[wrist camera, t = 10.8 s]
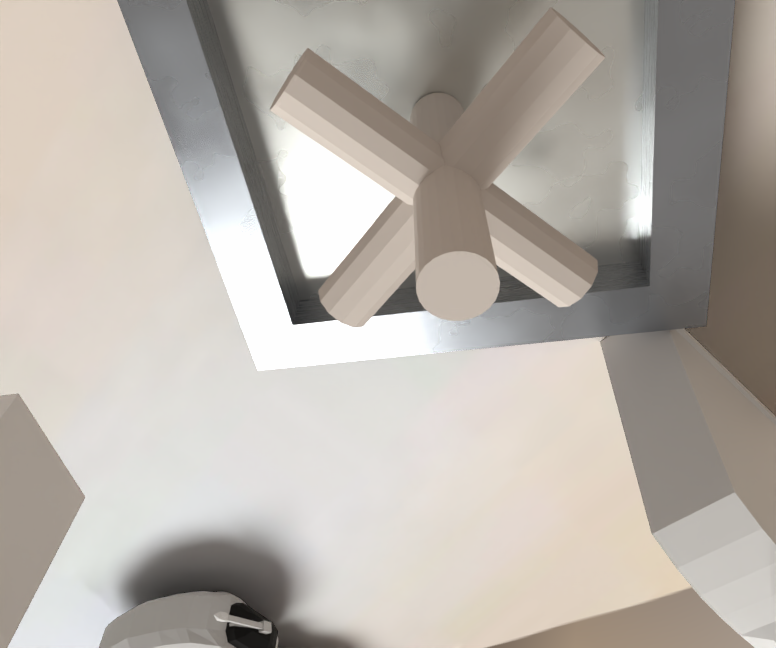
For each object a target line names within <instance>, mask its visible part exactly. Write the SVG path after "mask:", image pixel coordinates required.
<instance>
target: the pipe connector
mask: <svg viewBox="0 0 776 648" xmlns="http://www.w3.org/2000/svg"><path fill="white" fill-rule="evenodd" d="M604 59H605V56H604V54H603V53H602V52H601V51H600V50H599V49H598V48H597V47H596V46H595V45H594V44H593V43H592V42H591V41H590V40H589V39H588V38H587V37H586V36H585V35H584V34H582V33H581V32H580V31H579V30H578V29H577V28H576V27H575V26H574V25H573V24H571V23H570V22H569V21H568V20H567V19H566V18H565V17H563V16H562V15H561V14H560V13H559V12H557V11H556V10H555V9H553V8H552V7H550V8H549V9H548V11H547V12H546V13H545V14H544V15H543V17H542V18H541V19H540V20H539V22H538V23H537V24H536V25H535V26H534V28H533V29H532V30H531V31H530V33H529V34H528V35H527V36H526V37H525V39H524V40H523V41H522V42H521V43H520V45H519V46H518V47H517V48H516V50H515V51H514V52H513V53H512V54H511V56H510V57H509V58H508V59H507V61H506V62H505V63H504V64H503V65H502V67H501V68H500V69H499V70H498V72H497V73H496V74H495V75H494V76H493V78H492V79H491V80H490V81H489V83H488V84H487V85H486V86H485V87H484V89H483V90H482V91H481V92H480V93H479V95H478V96H477V97H476V98H475V100H474V101H473V102H472V103H471V104H470V106H469V107H468V108H467V109H466V111H465V112H464V109H463V107H462V106H461V104H460V102H459V101H458V100H457V99H456V98H454V97H453V96H451V95H449V94H445V93H432V94H428V95H426V96H424V97H423V98H421V99H420V100H419V101H418V102H417V103H416V104H415V106H414V108H413V109H412V112H411V116H410V122H409V121H407V120H406V119H405V118H403V117H402V116H400V115H399V114H398V113H396V112H395V111H394V110H392V109H391V108H390V107H388V106H387V105H385V104H384V103H383V102H381V101H380V100H379V99H377V98H376V97H375V96H373V95H372V94H370V93H369V92H368V91H366V90H365V89H364V88H362V87H361V86H360V85H358V84H357V83H355V82H354V81H353V80H351V79H350V78H349V77H347V76H346V75H345V74H343V73H342V72H340V71H339V70H338V69H336V68H335V67H334V66H332V65H331V64H330V63H328V62H327V61H325V60H324V59H323V58H321V57H320V56H319V55H317V54H316V53H314V52H313V51H312V50H310V49H309V48H307V49H306V50H305V52H304V53H303V54H302V56H301V57H300V59H299V60H298V62H297V63H296V65H295V66H294V68H293V69H292V71H291V72H290V74H289V76H288V77H287V79H286V80H285V82H284V84H283V85H282V87H281V89H280V90H279V92H278V94H277V96H276V97H275V99H274V101H273V103H272V105H271V107H270V111H271V112H273V113H274V114H276V115H277V116H279V117H280V118H282V119H283V120H285V121H286V122H288V123H289V124H290V125H292V126H293V127H295V128H296V129H298V130H299V131H301V132H302V133H304V134H305V135H307V136H308V137H310V138H311V139H312V140H314V141H315V142H317V143H318V144H320V145H321V146H323V147H324V148H326V149H327V150H329V151H330V152H332V153H333V154H335V155H336V156H337V157H339V158H340V159H342V160H343V161H345V162H346V163H348V164H349V165H351V166H352V167H354V168H355V169H357V170H358V171H359V172H361V173H362V174H364V175H365V176H367V177H368V178H370V179H371V180H373V181H374V182H376V183H377V184H379V185H380V186H381V187H383V188H384V189H386V190H387V191H389V192H390V193H392V194H393V195H395V197H394V198H393V200H392V201H391V202H390V203H389V204H388V206H387V207H386V208H385V209H384V211H383V212H382V213H381V214H380V215H379V217H378V218H377V219H376V220H375V222H374V223H373V224H372V225H371V226H370V228H369V229H368V230H367V231H366V233H365V234H364V235H363V236H362V237H361V239H360V240H359V241H358V242H357V244H356V245H355V246H354V247H353V248H352V250H351V251H350V252H349V253H348V254H347V256H346V257H345V258H344V259H343V261H342V262H341V263H340V264H339V265H338V267H337V268H336V269H335V270H334V272H333V273H332V274H331V275H330V276H329V278H328V279H327V280H326V281H325V283H324V284H323V285H322V286H321V288H320V289H319V290H318V292H319V298H320V302H321V303H322V305H323V306H324V307H325V309H326V310H327V312H328V313H329V314H330V315H331V316H333V317H334V318H335V319H337V320H338V321H339V322H340V323H342V324H345V325H347V326H350V327H353V328H357V327H363V326H364V325H365V324H366V323H367V322H368V321H369V320H370V318H371V317H372V316H373V315H374V314H375V313H376V312H377V311H378V310H379V308H380V307H381V306H382V305H383V304H384V303H385V302H386V301H387V300H388V298H389V297H390V296H391V295H392V294H393V293H394V292H395V291H396V290H397V288H398V287H399V286H400V285H401V284H402V283H403V282H404V281H405V280H406V279H407V277H408V276H409V275H410V274H411V273H412V272H413V271H414V270H415V271H416V293H417V296H418V299H419V302H420V303H421V304H422V306H423V307H424V309H426V310H427V311H428V312H429V313H430V314H432V315H434V316H436V317H438V318H440V319H444V320H449V321H463V320H467V319H472V318H474V317H476V316H478V315H481V314H482V313H484V312H485V311H486V310H487V309H489V308H490V307H491V305H492V304H493V303H494V302H495V300H496V298H497V296H498V293H499V288H500V280H499V275H498V270H497V266H499V267H500V268H502V269H503V270H505V271H506V272H508V273H509V274H511V275H512V276H514V277H515V278H517V279H518V280H519V281H521V282H522V283H524V284H525V285H527V286H528V287H530V288H531V289H533V290H534V291H536V292H537V293H539V294H540V295H542V296H543V297H544V298H546V299H547V300H549V301H550V302H552V303H553V304H555V305H556V306H558V307H569V306H571V305H572V304H574V303H575V302H577V301H578V300H580V299H581V298H582V297H583V296H584V295H585V293H586V292H587V291H588V290H589V289H590V287H591V286H592V284H593V282H594V280H595V277H596V275H597V273H598V260H596V259H595V258H594V257H593V256H591V255H590V254H589V253H587V252H586V251H585V250H583V249H582V248H581V247H579V246H578V245H577V244H575V243H574V242H572V241H571V240H570V239H568V238H567V237H566V236H564V235H563V234H562V233H560V232H559V231H557V230H556V229H555V228H553V227H552V226H551V225H549V224H548V223H546V222H545V221H544V220H542V219H541V218H540V217H538V216H537V215H536V214H534V213H533V212H531V211H530V210H529V209H527V208H526V207H525V206H523V205H522V204H521V203H519V202H518V201H516V200H515V199H514V198H512V197H511V196H510V195H508V194H507V193H506V192H504V191H503V190H501V189H500V188H499V187H497V186H496V185H495V184H493V182H494V181H495V180H496V179H497V177H498V176H499V175H500V174H501V173H502V172H503V171H504V170H505V169H506V167H507V166H508V165H509V164H510V163H511V162H512V161H513V160H514V159H515V157H516V156H517V155H518V154H519V153H520V152H521V151H522V150H523V149H524V147H525V146H526V145H527V144H528V143H529V142H530V141H531V140H532V139H533V137H534V136H535V135H536V134H537V133H538V132H539V131H540V130H541V129H542V127H543V126H544V125H545V124H546V123H547V122H548V121H549V120H550V119H551V117H552V116H553V115H554V114H555V113H556V112H557V111H558V110H559V109H560V107H561V106H562V105H563V104H564V103H565V102H566V101H567V100H568V99H569V97H570V96H571V95H572V94H573V93H574V92H575V91H576V90H577V89H578V87H579V86H580V85H581V84H582V83H583V82H584V81H585V80H586V79H587V77H588V76H589V75H590V74H591V73H592V72H593V71H594V70H595V69H596V67H597V66H598V65H599V64H600V63H601V62H602V61H603V60H604ZM496 265H497V266H496Z"/></svg>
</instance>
